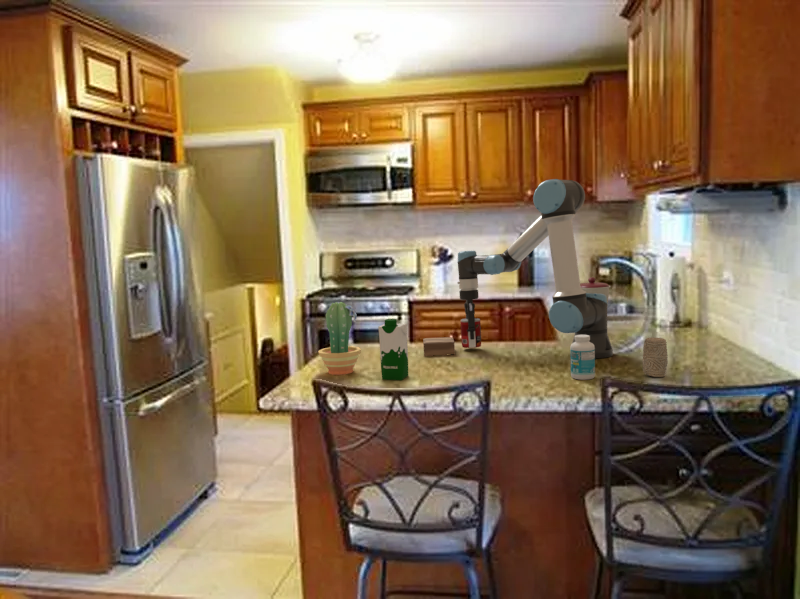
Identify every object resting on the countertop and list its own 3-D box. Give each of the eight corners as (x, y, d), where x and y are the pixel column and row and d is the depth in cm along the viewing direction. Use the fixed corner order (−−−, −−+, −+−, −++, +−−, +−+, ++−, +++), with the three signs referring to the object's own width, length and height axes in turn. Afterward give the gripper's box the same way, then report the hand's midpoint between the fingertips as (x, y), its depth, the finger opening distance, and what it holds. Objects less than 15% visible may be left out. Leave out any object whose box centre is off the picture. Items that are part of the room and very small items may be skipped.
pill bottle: (567, 376, 214) (566, 334, 213) (590, 374, 215) (589, 333, 213) (575, 381, 207) (574, 338, 205) (598, 379, 207) (598, 336, 206)
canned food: (480, 347, 263) (479, 320, 262) (460, 348, 265) (459, 321, 264) (482, 344, 271) (481, 317, 270) (462, 345, 272) (461, 318, 271)
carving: (671, 377, 205) (671, 339, 204) (648, 379, 205) (647, 340, 203) (662, 373, 212) (661, 336, 210) (639, 374, 211) (638, 337, 210)
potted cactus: (345, 378, 226) (341, 305, 224) (310, 374, 235) (305, 304, 232) (370, 369, 239) (367, 300, 237) (336, 366, 248) (332, 299, 245)
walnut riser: (454, 354, 259) (454, 341, 258) (424, 356, 259) (423, 343, 258) (453, 349, 271) (452, 336, 270) (423, 350, 271) (423, 338, 270)
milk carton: (378, 380, 221) (375, 320, 219) (387, 374, 229) (385, 317, 227) (403, 381, 218) (400, 320, 216) (412, 375, 226) (409, 316, 224)
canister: (609, 320, 328) (609, 278, 326) (572, 320, 335) (571, 279, 333) (612, 315, 345) (611, 275, 343) (576, 315, 352) (575, 276, 349)
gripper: (457, 288, 276) (460, 342, 278) (461, 292, 256) (464, 350, 258) (475, 287, 276) (478, 341, 278) (480, 290, 255) (483, 349, 257)
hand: (471, 345), depth 268 cm, fingers closed on canned food, 8 cm apart
